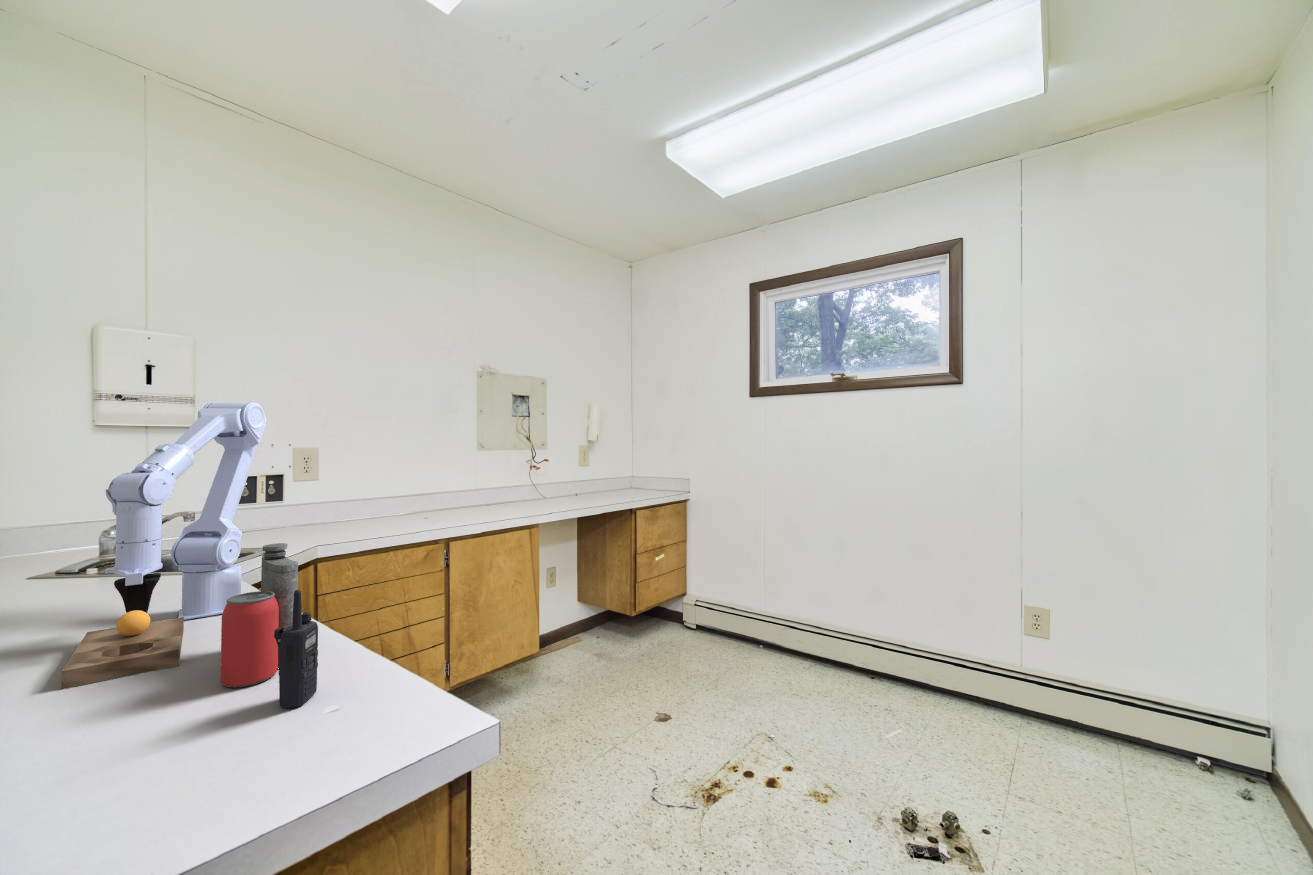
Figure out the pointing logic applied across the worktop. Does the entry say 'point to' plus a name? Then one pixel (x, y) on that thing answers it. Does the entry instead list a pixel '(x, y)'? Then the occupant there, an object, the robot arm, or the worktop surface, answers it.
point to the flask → (280, 581)
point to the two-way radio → (297, 657)
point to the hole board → (124, 653)
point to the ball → (133, 623)
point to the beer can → (249, 639)
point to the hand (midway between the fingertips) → (137, 618)
